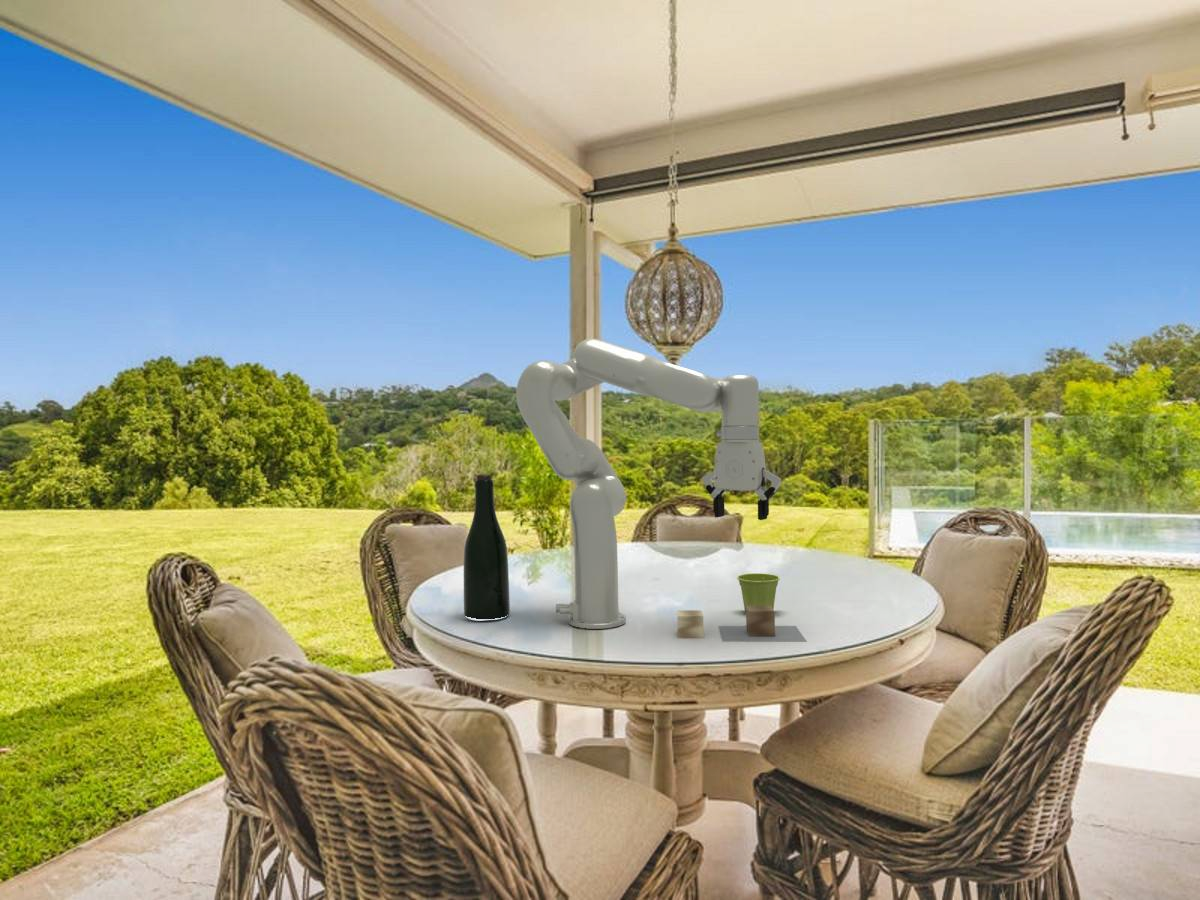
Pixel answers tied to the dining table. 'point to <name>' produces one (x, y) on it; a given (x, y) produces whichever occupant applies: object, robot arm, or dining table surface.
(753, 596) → the plant pot
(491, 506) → the dark wine bottle
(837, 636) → the dining table surface
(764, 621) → the walnut block
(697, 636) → the maple block
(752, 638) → the mat
